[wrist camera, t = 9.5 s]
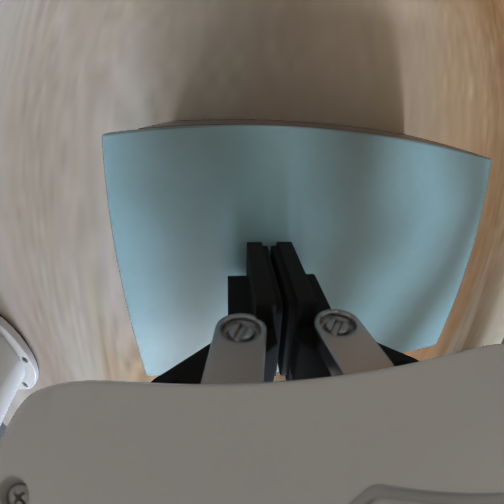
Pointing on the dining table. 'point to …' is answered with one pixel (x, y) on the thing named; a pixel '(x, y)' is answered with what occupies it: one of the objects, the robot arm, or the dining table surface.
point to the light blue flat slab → (288, 225)
